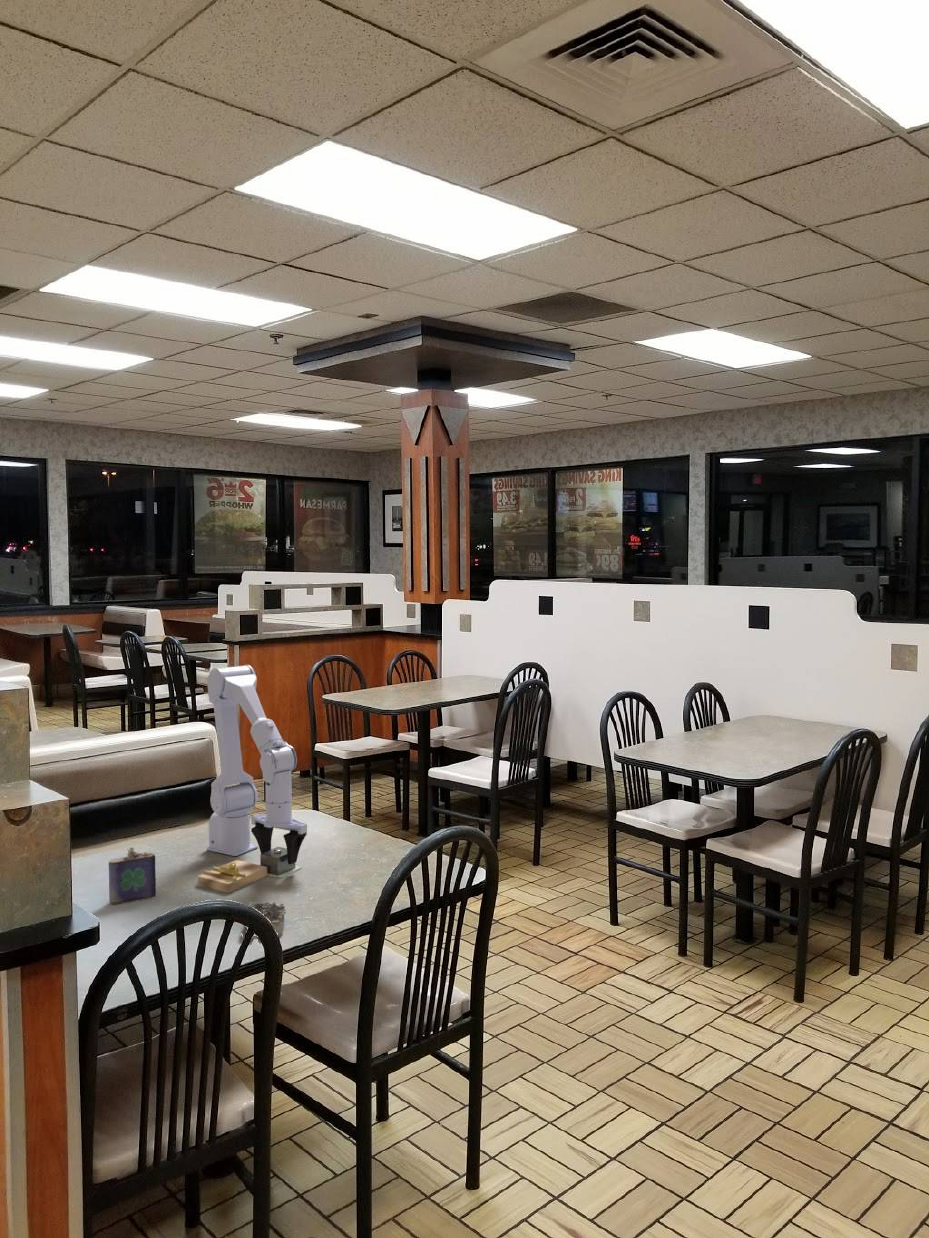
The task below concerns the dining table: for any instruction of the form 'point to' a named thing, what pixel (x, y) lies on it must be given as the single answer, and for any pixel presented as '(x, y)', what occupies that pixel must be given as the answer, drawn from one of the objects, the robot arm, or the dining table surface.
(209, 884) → the wooden tray with rails
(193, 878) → the dining table surface
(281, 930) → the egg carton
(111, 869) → the flask
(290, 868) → the metal box with knob
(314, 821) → the dining table surface
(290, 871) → the mat
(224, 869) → the bolt
